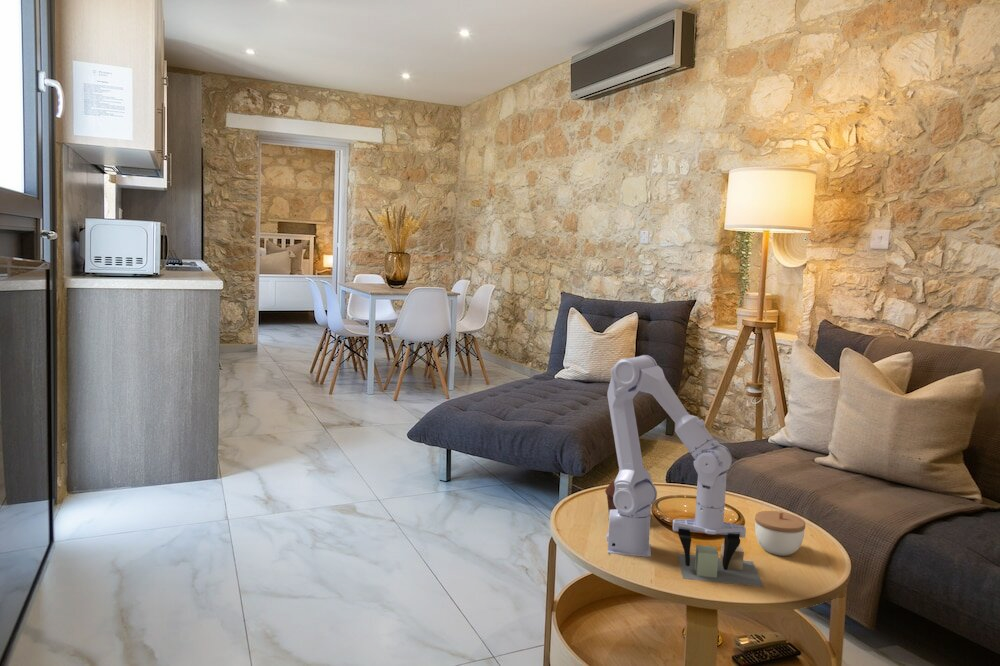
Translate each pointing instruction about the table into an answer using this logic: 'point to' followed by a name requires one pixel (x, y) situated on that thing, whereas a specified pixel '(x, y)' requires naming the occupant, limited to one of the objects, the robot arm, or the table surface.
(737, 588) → the table surface
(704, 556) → the green block
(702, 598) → the table surface
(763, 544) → the lidded jar
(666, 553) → the table surface
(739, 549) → the beech cube
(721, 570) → the slate mat
